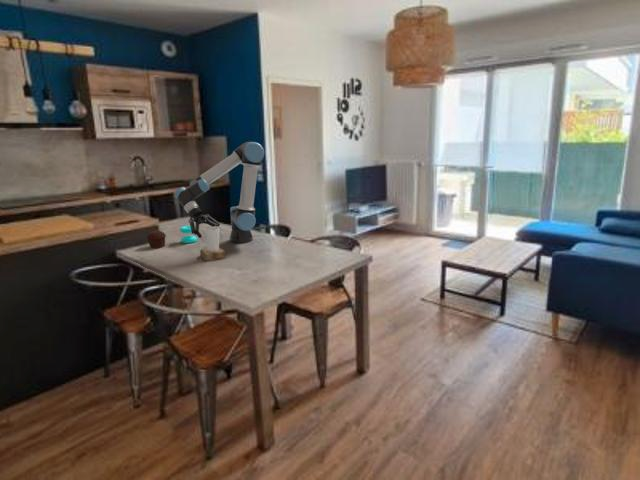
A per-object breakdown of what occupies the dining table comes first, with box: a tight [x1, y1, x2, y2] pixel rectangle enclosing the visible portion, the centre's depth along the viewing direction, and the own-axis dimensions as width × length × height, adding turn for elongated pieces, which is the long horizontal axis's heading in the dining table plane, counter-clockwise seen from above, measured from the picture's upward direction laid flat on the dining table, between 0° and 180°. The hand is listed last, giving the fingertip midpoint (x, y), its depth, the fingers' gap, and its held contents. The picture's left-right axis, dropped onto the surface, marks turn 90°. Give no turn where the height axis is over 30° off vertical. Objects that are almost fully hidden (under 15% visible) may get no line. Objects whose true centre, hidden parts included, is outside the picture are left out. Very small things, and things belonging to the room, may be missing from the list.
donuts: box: [179, 225, 198, 244], centre depth 271 cm, size 10×10×10 cm
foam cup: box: [202, 226, 221, 252], centre depth 237 cm, size 10×9×13 cm
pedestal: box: [199, 246, 227, 262], centre depth 239 cm, size 12×12×4 cm
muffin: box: [146, 230, 167, 249], centre depth 261 cm, size 12×11×10 cm
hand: (214, 238), depth 235 cm, fingers open, 13 cm apart
